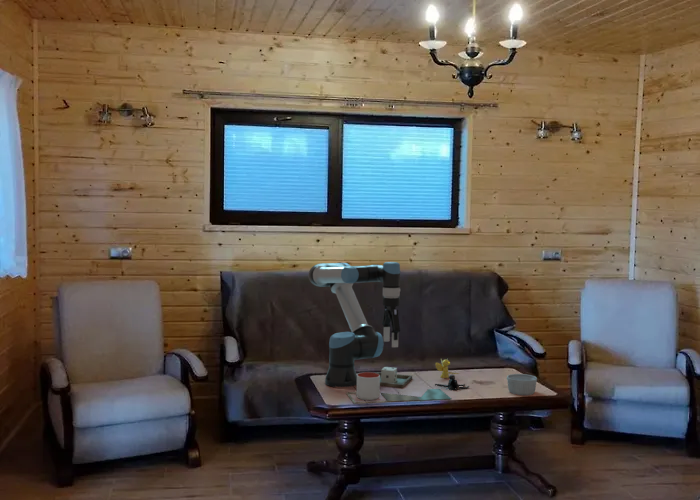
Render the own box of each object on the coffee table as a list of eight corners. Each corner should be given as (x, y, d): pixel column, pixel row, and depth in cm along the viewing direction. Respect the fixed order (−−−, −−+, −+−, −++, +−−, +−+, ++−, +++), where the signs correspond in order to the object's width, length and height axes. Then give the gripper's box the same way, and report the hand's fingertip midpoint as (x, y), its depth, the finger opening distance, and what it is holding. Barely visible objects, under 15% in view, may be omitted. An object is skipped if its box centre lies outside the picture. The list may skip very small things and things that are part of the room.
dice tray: (364, 385, 328) (364, 381, 328) (375, 376, 345) (376, 372, 345) (402, 389, 322) (402, 384, 322) (412, 379, 339) (412, 375, 339)
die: (380, 382, 332) (381, 369, 331) (384, 379, 338) (384, 366, 337) (393, 383, 330) (393, 370, 329) (396, 380, 336) (397, 367, 335)
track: (353, 403, 298) (353, 402, 298) (346, 393, 314) (346, 392, 314) (451, 399, 307) (451, 398, 307) (439, 389, 323) (439, 388, 323)
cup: (354, 400, 304) (355, 377, 303) (358, 394, 314) (358, 371, 313) (378, 401, 302) (378, 378, 301) (380, 395, 312) (381, 372, 311)
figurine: (459, 381, 337) (460, 363, 336) (434, 379, 341) (435, 361, 341) (464, 376, 348) (465, 358, 348) (440, 373, 352) (440, 356, 352)
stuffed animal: (471, 388, 322) (450, 373, 320) (458, 406, 322) (437, 391, 321) (465, 381, 333) (444, 367, 332) (453, 398, 334) (432, 384, 332)
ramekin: (500, 389, 324) (500, 374, 323) (524, 387, 329) (524, 372, 329) (518, 397, 312) (518, 381, 311) (542, 394, 317) (543, 379, 316)
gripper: (407, 300, 306) (407, 349, 307) (391, 293, 330) (391, 338, 332) (390, 300, 305) (390, 350, 306) (375, 293, 329) (375, 339, 330)
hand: (390, 344), depth 319 cm, fingers open, 13 cm apart
